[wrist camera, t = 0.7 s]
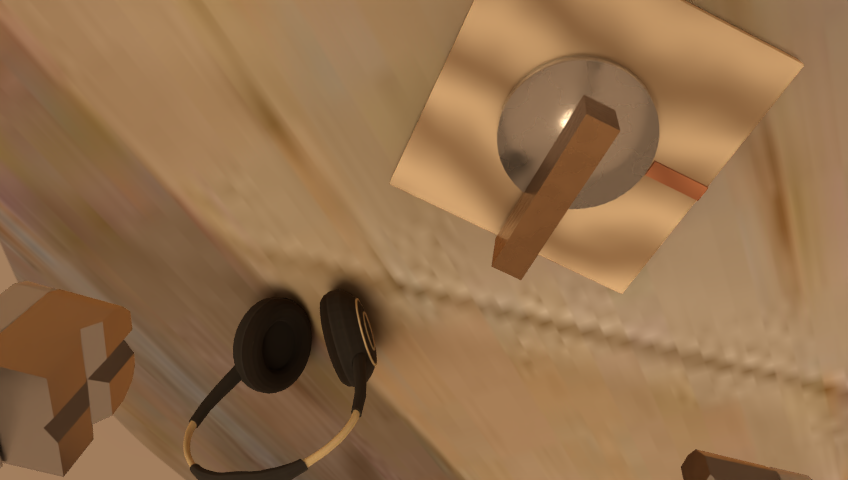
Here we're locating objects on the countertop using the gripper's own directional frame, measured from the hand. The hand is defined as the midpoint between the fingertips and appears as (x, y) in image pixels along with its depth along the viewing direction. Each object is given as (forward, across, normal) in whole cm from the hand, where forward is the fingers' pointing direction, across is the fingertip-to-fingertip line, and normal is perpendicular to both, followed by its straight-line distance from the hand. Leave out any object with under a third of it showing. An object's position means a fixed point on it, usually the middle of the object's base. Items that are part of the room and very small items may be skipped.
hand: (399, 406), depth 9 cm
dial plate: (+40, -7, +8) cm, 41 cm away
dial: (+38, -6, +11) cm, 40 cm away
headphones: (+41, +10, +32) cm, 53 cm away
